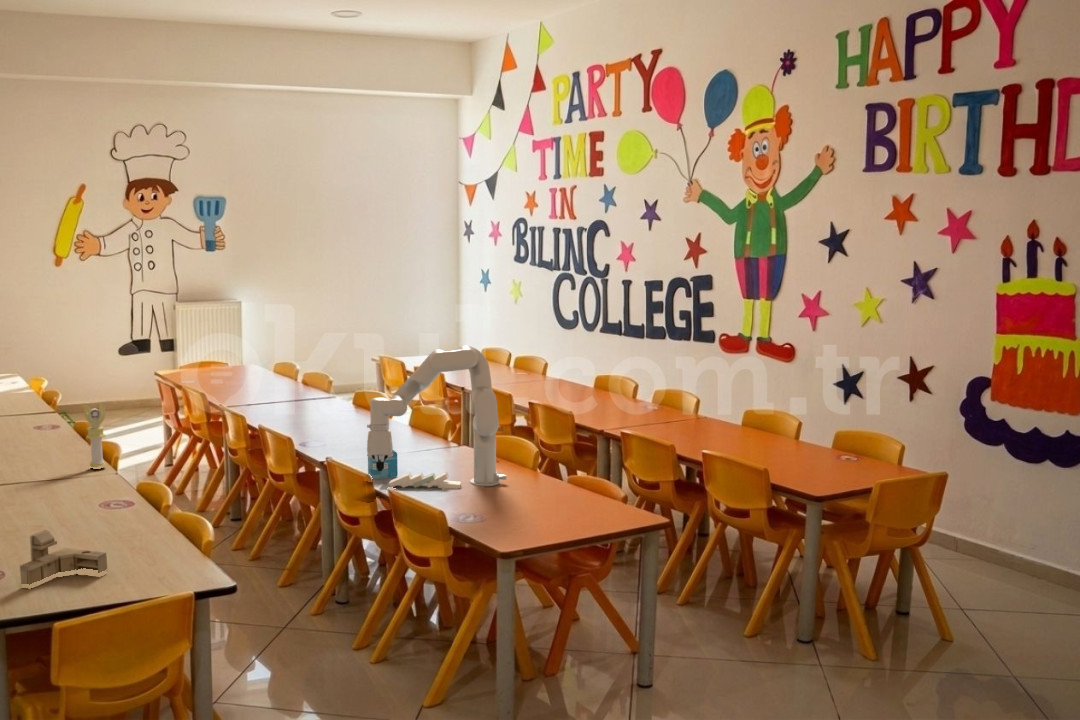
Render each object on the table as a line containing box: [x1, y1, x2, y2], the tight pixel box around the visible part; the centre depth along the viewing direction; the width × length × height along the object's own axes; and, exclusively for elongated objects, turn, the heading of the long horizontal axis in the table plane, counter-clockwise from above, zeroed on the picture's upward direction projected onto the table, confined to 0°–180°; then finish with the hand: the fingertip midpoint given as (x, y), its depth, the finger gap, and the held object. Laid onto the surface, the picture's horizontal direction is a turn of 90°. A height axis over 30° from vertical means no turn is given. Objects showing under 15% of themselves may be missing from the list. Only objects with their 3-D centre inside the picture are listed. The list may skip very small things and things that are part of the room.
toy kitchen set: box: [19, 529, 108, 585], centre depth 311 cm, size 18×17×15 cm
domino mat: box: [379, 482, 443, 491], centre depth 424 cm, size 26×10×1 cm, turn 89°
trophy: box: [83, 402, 106, 467], centre depth 453 cm, size 8×8×30 cm
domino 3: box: [413, 472, 437, 488], centre depth 424 cm, size 2×5×9 cm
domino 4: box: [426, 471, 449, 488], centre depth 423 cm, size 2×5×9 cm
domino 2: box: [401, 472, 425, 488], centre depth 424 cm, size 2×5×9 cm
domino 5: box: [438, 480, 462, 489], centre depth 424 cm, size 2×5×9 cm
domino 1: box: [388, 472, 412, 487], centre depth 424 cm, size 2×5×9 cm
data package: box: [367, 449, 399, 480], centre depth 439 cm, size 12×4×12 cm, turn 115°
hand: (380, 470), depth 423 cm, fingers closed
